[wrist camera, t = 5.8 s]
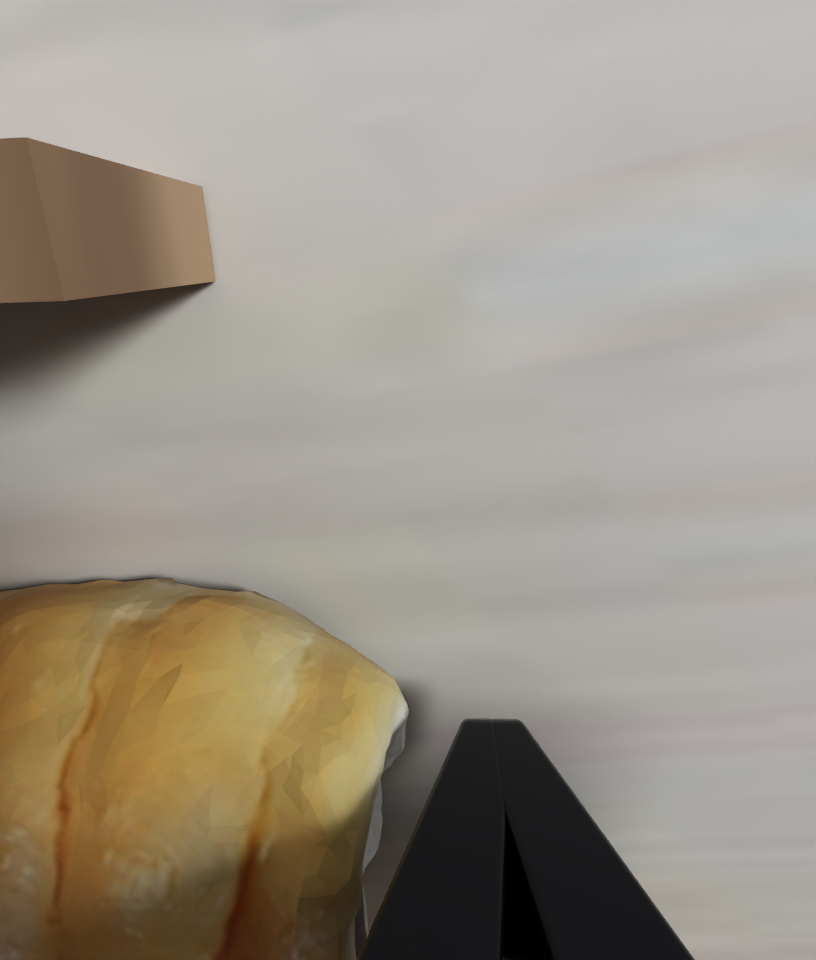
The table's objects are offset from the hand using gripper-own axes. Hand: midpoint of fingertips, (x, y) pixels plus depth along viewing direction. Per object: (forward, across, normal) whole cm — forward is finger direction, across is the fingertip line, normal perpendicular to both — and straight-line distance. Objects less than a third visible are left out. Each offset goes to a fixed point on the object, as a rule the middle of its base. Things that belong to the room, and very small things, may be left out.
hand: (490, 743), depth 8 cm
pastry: (+1, +5, +1) cm, 6 cm away
